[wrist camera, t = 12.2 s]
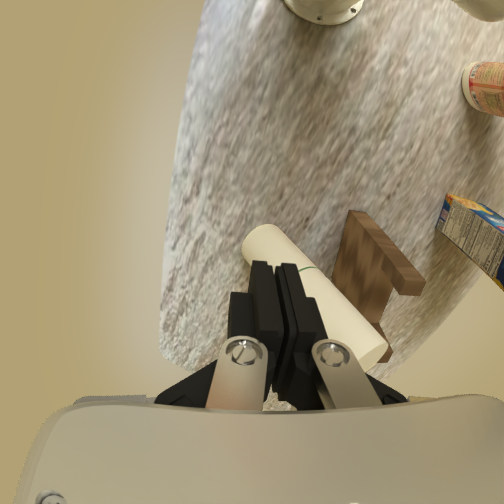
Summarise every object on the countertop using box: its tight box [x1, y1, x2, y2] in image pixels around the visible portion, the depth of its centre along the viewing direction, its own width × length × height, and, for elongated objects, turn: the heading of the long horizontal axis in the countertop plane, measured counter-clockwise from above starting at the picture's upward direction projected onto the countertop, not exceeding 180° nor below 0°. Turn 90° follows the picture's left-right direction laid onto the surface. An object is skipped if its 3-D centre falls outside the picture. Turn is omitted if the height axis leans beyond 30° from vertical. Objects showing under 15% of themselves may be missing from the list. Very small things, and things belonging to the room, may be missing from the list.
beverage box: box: [436, 194, 504, 291], centre depth 42 cm, size 7×11×22 cm, turn 81°
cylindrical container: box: [241, 224, 388, 373], centre depth 43 cm, size 7×7×25 cm
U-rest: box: [331, 210, 426, 363], centre depth 45 cm, size 13×3×21 cm, turn 173°
